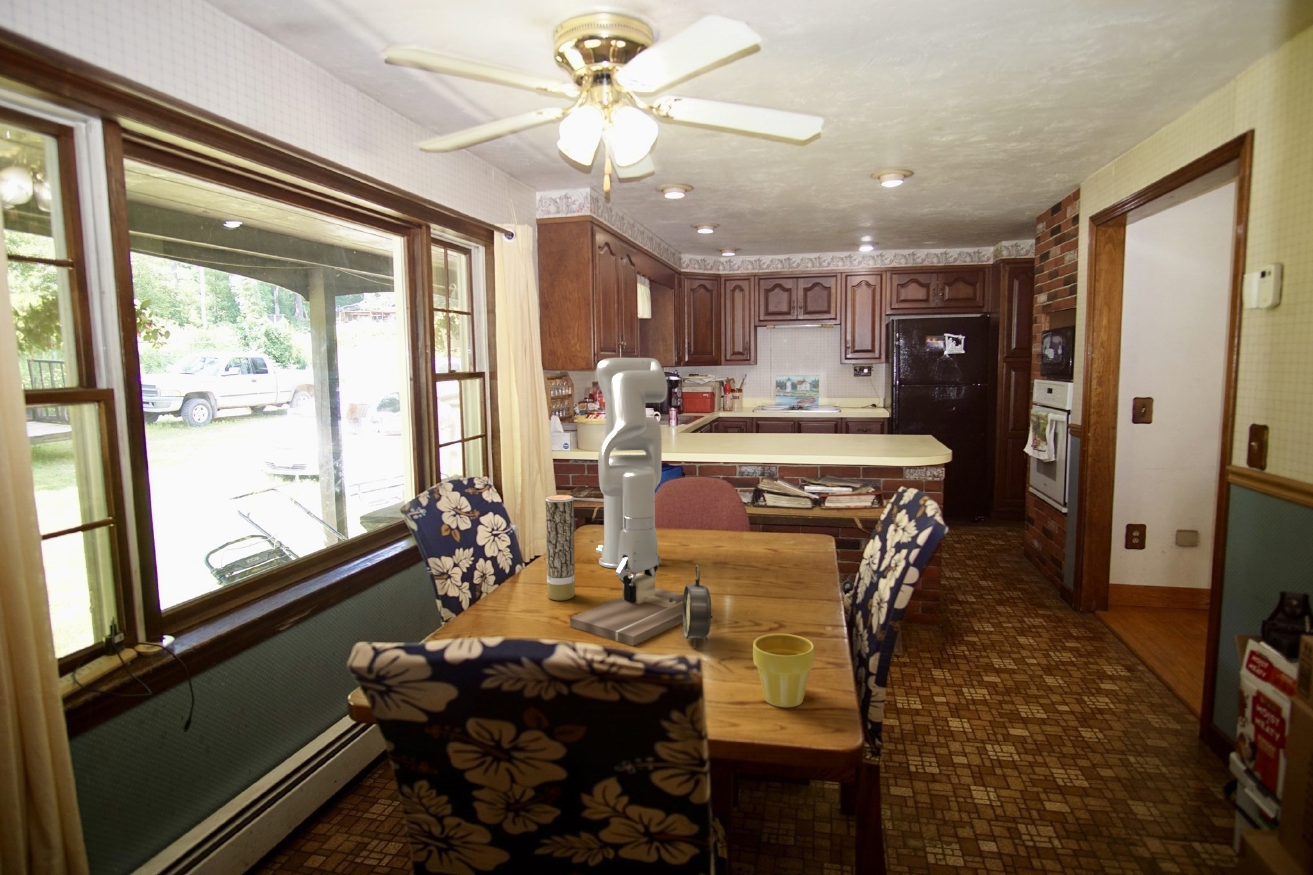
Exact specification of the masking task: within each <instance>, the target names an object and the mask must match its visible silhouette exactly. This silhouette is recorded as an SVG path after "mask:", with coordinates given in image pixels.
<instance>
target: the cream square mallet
mask: <svg viewBox="0 0 1313 875" xmlns="http://www.w3.org/2000/svg"><path fill="white" fill-rule="evenodd" d="M628 577H629V578H631V575H629V576H628ZM634 585H635V586H636V602H634V603H637V604H641V603H643V602H648V603H652V604H656V605H659V606H663V607H667V608H671V609H672V608H674V607H676V601H673V598H669V600H668V599H664V598H660V597H656V596H655V588H656V576H655V577H653V576H649V575H644V574H643V573H641V572H639V573H637V574H636V578H635V582H634ZM622 597H623V600H624V584H622Z"/></svg>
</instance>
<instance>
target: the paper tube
mask: <svg viewBox="0 0 1313 875" xmlns="http://www.w3.org/2000/svg"><path fill="white" fill-rule="evenodd" d="M574 501H575V500H574V496H572V495H567V494H566V495H564V494H556V495H550V496H546V497H545V536H546V537H545V538H546V541H545V542H546V581H547V582H546V583H547V584H546V585H547V586H546V588H547V591H546V593H547V594H546V595H547V598H549V599H550V600H553V601H567V600H568V601H569V600H570V599H572V598H574V597H575V594H576V587H575V583H576V582H575V578H576V575H575V574H576V571H575V570H576V568H575V567H576V566H575V563H576V562H575V505H574Z"/></svg>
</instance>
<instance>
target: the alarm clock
mask: <svg viewBox="0 0 1313 875" xmlns="http://www.w3.org/2000/svg"><path fill="white" fill-rule="evenodd" d="M694 572H695V580H694V581H695V583H694V584H691V583H689V584H688V583H686V585H685V587H684V590H683V595H684V596H683V622H682V630H683V635H684V638H686V640H688V639H689V640H691V639H692V640H693V646H694V647H693V650H695V651H696V650H697V649H698V647H697V644H698V643H697V642H698V640H704V639H705V640H706V641H707V642H708V641H709V639H708V636H709V633H710V630H711V624H712V623H711V622H712V619H713V615H712V601H711V600H712V599H711V598H712V597H711V594H710V590H709V588H708V586H706V585H705V584H700V582H701V579H700V578H701V577H700V576H701V574H700V573H701V572H700V567H699V565H698V564H696V565H695V571H694Z"/></svg>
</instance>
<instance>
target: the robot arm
mask: <svg viewBox="0 0 1313 875" xmlns="http://www.w3.org/2000/svg"><path fill="white" fill-rule="evenodd" d="M596 377H597V383H598V386H599V388H600V391H601V393H602V396H603V400H604V410H605V411H604V413H605V414H604V417H605V418H604V419H605V420H604V424H605V425H604V427H605V434H604V435H605V439H604V440H603V441H602V443H601V445H600V448H599V450H598V451H599V452H598V457H597V463H598V464H597V465H598V466H597V468H598V469H597V470H598V471H597V472H598V483H599V489H600V491H601V492H600V493H602V495H603V528H604V530H603V537H604V538H603V539H604V540H603V542H604V543H603V544H598V547H596V549H595V552H596V553H599V554H601V557H599V559H598V564H599V565H600V566H602V567H605V568H608V569H615V570H616V571H615V575H616V576H617V577H618V579H619V580H620V581H621V584H622V585H623V584H624V600H625V601H629V602H633V603H634V602H636V586H635V585H634V582H635V578H636V574H638V573H642V574H644V575H649V576H653V577H655V578H656V576H657V575H656V573H657V570H658V567H659V566H660V564H661V562H662V559H661V557H660V555H659V552H658V551H659V550H658V538H657V537H658V536H657V529H656V523H655V522H656V516H655V515H656V512H655V509H656V505H655V504H656V501H655V500H656V498H655V496H656V492H655V491H656V489H657V488H658V485H659V484H661V479H662V465H663V464H662V460H663V458H662V448H663V447H662V445H663V444H662V440H663V439H662V428H661V425H660V422H659V421H658V420H657V419H656V418H654V417H651V416H647V410H646V403H647V404H648V403H650V404H655V403H658V404H660V403H663V402H664V401H665V400H666V398H667V395H668V383H667V378H666V375H665V372H664V369H663V368H662V366H661V363H660V362H659V360H658V359H656V358H653V357H609V358H604V359H602V360H600V361H599V362H598V363H597V365H596ZM612 451H618V452H619V451H620V452H621V451H624V452H625V451H629V452H630V451H643V452H645V454H613V455H611V453H612ZM630 576H631V578H629V577H630Z"/></svg>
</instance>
